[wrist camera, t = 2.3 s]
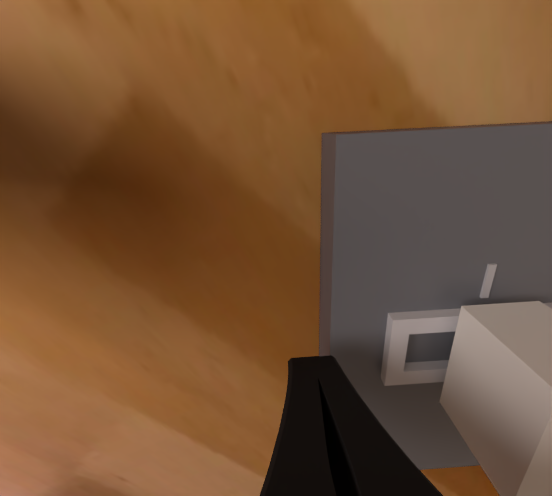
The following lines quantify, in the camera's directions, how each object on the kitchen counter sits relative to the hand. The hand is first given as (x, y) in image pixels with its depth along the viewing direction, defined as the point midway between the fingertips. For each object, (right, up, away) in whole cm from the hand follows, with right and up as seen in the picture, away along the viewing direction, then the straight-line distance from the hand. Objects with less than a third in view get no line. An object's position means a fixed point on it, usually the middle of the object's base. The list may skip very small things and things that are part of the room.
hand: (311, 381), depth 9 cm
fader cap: (+6, +1, +1) cm, 6 cm away
